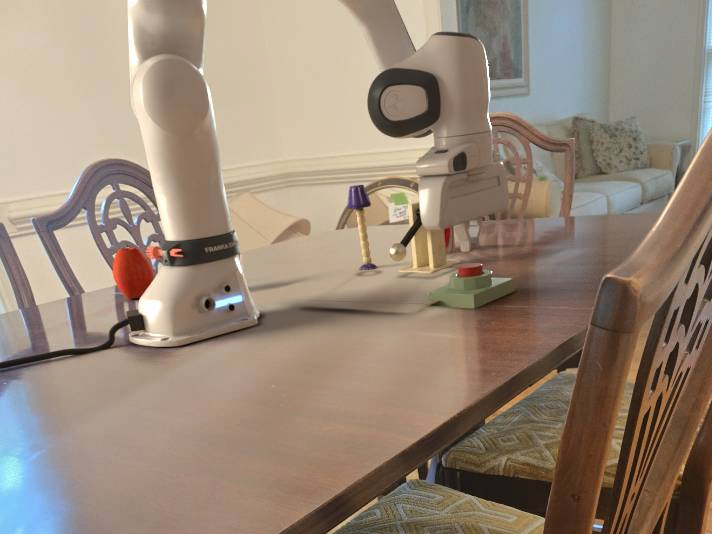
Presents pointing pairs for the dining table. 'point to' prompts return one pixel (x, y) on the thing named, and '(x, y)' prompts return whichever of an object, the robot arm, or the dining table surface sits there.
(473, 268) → the button
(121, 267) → the apple
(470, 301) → the switch block
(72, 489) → the dining table surface
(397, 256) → the lever
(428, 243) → the bracket
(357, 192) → the toy lamp
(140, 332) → the robot arm
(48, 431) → the dining table surface
